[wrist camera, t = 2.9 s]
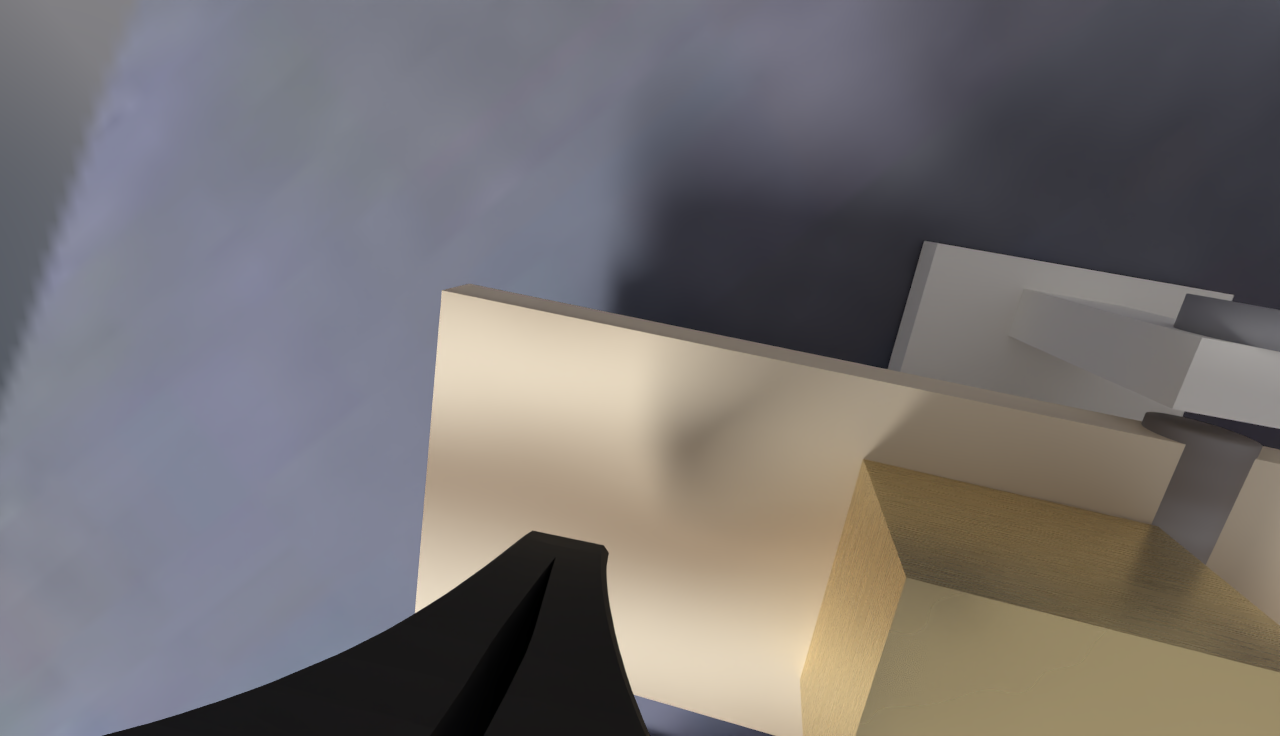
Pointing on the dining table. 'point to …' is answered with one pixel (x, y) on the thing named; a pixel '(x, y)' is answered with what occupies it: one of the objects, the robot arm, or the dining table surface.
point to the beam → (766, 480)
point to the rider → (1026, 623)
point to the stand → (1088, 338)
